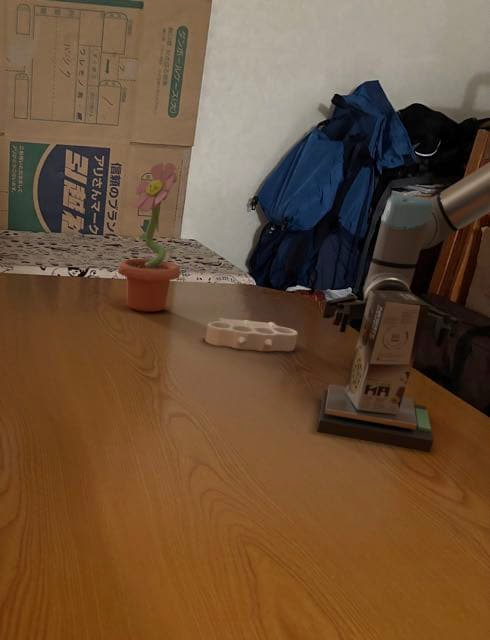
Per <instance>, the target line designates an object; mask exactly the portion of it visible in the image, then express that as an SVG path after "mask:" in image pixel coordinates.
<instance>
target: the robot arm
mask: <svg viewBox="0 0 490 640" xmlns="http://www.w3.org/2000/svg"><path fill="white" fill-rule="evenodd" d="M489 213H490V161H489V162H487V163H486V164H484V165H483V166H481V167H479V168H477V169H476V170H475V171H473V172H471V173H470V174H468V175H466V176H465V177H463V178H461V179H460V180H459V181H457V182H454V184H452V185H451V186H449V187H447V188H445V189H443V190H442V191H441V192H439V193H437V194H436V195H434V196H432V197H431V198H426V197H422V196H415V195H407V194H394V195H391V196H390V197H389V198H388V199H387V201H386V204H385V207H384V211H383V213H382V214H381V218H380V219H381V220H380V225H379V230H378V234H377V238H376V242H375V246H374V250H373V255H372V258H371V262H370V264H369V269H368V273H367V276H366V278H365V280H364V284H363V288H362V293H363V300H358V296H356V295H355V294H353V293H349V294H347V295H345V296H342V297H338V298H337V297H336V298H332V299H327V300H325V302H324V306H323V310H322V316H321V317H322V318H324V319H331V318H333V319H332V325H333V326H336V327H337V326H338V327H339V333H346V330H347V326H348V321H353V320H362V321H363V317H364V313H365V309H366V305H367V301H368V297H369V293H370V290H381V291H386V290H387V291H401V292H410V293H412V291H411V284H412V281H413V277H414V275H415V271H416V267H417V263H418V259H419V257H420V252H421V250H428V249H431V248H433V247H435V246H437V245H439V244H440V243H441V242H443V240H444V239H446V238H449V237H450V236H451V235H453V234H455V233H457V232H458V231H460V230H461V229H463V228H465V227H467V226H468V225H470V224H472V223H474V222H476V221H477V220H479V219H481V218H482V217H484V216H486V215H488V214H489ZM429 305H430V308H429V311H428V314H427V318H426V321H425V325H424V328H423V331H426V332H428V333H431V334H432V335H431V337H432V340H433V343H434V346H435V347H437V348H442V345H443V342H444V339H449V337H451V338H458V335H459V333H460V329H461V327H462V326H461V325H462V323H463V320H462V319H460V318H457V317H455V316H452V314H449V313H446V312H444V311H442V310H440V309H438V308H436V306H434V305H432V304H429Z"/></svg>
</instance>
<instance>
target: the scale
mask: <svg viewBox="0 0 490 640" xmlns="http://www.w3.org/2000/svg"><path fill="white" fill-rule="evenodd" d="M327 394H328V389H324V390H323V394H322V399H321V404H320V411H319V417H318V423H317V429H316V432H318V433H322V434H327V435H333V436H340V437H345V438H350V439H356V440H361V441H367V442H372V443H378V444H384V445H389V446H394V447H399V448H400V447H401V448H406V449H411V450H417V451H421V452H427V453H430V452H431V449H432V446H433V443H434V438H433V433H432V426H431V423H430V417H429V413H428V409H427V406H426V405H420V404H415V403H414V409H415V415H416V421H417V428H416V430H414V429H408V428H403V427H397V426H391V425H386V424H380V423H374V422H368V421H363V420H357V419H351V418H346V417H340V416H334V415H329V414H325V408H326V401H327Z"/></svg>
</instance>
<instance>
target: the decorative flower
mask: <svg viewBox="0 0 490 640" xmlns="http://www.w3.org/2000/svg"><path fill="white" fill-rule="evenodd" d="M176 169H177V167H176V165H175V164H174V163H172V162H167V163H165V165H164V162H159V163H157V164H155V165H153V166H152V168H150V174H151V177H152V181H151V182H150V181H146V180H141V181H140V182H139V183H138V184H137V187H136V188H135V194H136V195H140V194H141V195H140V196H138V197H136V198H135V199H134V200H133V207H134V208H136V209H139V211H140V212H143V213H147V212H149V211H150V210H151V214H150V215H151V216H150V219H149V222H148V225H147V227H146V228H147V229H146V231H145V232H143V233H142V234H141V235H140V236H139V241H143V240H144V241H145V245H146V247H147V248H148V249H150V250H151V251H152V252H154V253H156V254H157V255H156V256H155V257H153V258H129V259H125V260H122V261H120V262H119V263H118V265H117V273H118V274H120V275H122V276H123V277H126V305H127V307H128V308H129V309H131V310H133V311H137V312H138V311H139V312H145V313H154V312H160V311H162V310H164V308H165V306H166V303H167V298H168V292H169V287H170V282H171V281H173V280H176V279H179V278H180V276H181V270H180V267H179V265H177V264H175V263H173V262H170V261H167V260H164V259H165V258H166V256H167V252H172V251H175V250H176V249H178V248H179V246H174V247H171V248H167V249H166V248H165V247H164V246H162V245H161V244H159V243H157V242H156V241H154V234H155V232H157V233H159V223H160V222H159V220H160V213H161V205H162V202H163V201H165V200H166V199H167V197H168V196H169V193H170V190H171V189H172V188H173V185H174V184H175V183H177V182H178V176H177V173H176V172H175V170H176Z"/></svg>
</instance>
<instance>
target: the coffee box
mask: <svg viewBox="0 0 490 640" xmlns="http://www.w3.org/2000/svg"><path fill="white" fill-rule="evenodd" d="M430 305H431V304H429V303H428V302H426V301H424V300H423V299H422V298H420V297H419V296H417V295H416V294H414V293H413V292H411V293H410V292H401V291H387V290H386V291H381V290H370V293H369V297H368V301H367V305H366V309H365V313H364V317H363V320H362V321H361V326H360V330H359V334H358V338H357V341H356V346H355V349H354V354H353V358H352V363H351V367H350V370H349V375H348V379H347V382H346V386H345V387H346V390H345V393H346V394H347V395H348V397H349V398H350V400H351V401H352V403H353V404H354V406H355V407H356V409H357V410H361V411H370V412H379V413H387V414H395V415H396V414H398V411H399V408H400V405H401V401H402V398H403V397H404V395H405V391H406V388H407V385H408V382H409V377H410V374H411V370H412V368H413V364H414V360H415V358H416V354H417V351H418V347H419V344H420V341H421V338H422V334H423V331H424V330H423V328H424V325H425V321H426V318H427V314H428V311H429V308H430Z"/></svg>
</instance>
